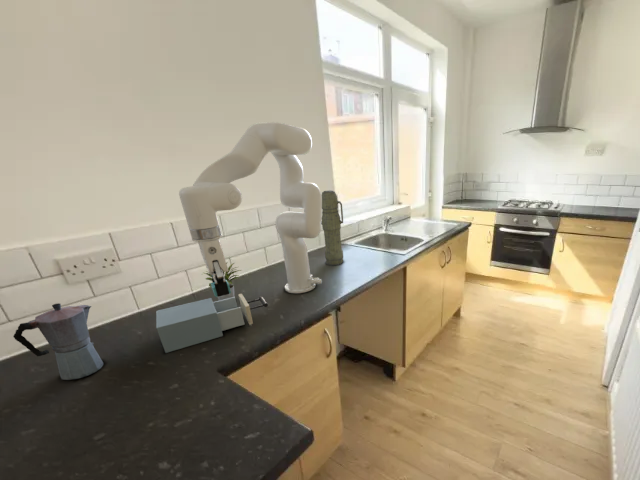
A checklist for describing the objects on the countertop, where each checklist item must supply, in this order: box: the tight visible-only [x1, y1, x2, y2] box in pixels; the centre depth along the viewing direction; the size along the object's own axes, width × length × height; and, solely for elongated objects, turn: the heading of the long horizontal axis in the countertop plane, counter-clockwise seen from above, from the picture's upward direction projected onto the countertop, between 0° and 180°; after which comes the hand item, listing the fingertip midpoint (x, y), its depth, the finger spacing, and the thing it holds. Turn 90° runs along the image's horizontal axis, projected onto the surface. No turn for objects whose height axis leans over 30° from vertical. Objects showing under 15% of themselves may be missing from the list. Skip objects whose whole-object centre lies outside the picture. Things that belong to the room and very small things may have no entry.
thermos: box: [321, 190, 344, 266], centre depth 155 cm, size 9×12×35 cm
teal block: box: [210, 280, 231, 298], centre depth 95 cm, size 4×4×3 cm
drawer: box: [213, 293, 269, 332], centre depth 107 cm, size 21×11×7 cm, turn 123°
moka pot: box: [13, 302, 104, 381], centre depth 82 cm, size 10×15×20 cm, turn 161°
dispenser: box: [155, 297, 224, 354], centre depth 100 cm, size 16×13×9 cm
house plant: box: [201, 260, 242, 301], centre depth 119 cm, size 14×14×16 cm
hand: (221, 291), depth 96 cm, fingers closed on teal block, 4 cm apart
